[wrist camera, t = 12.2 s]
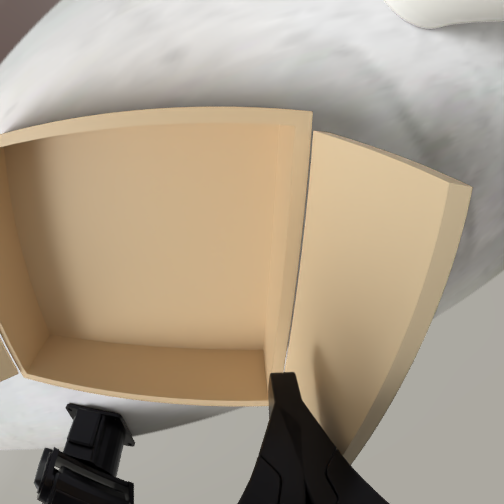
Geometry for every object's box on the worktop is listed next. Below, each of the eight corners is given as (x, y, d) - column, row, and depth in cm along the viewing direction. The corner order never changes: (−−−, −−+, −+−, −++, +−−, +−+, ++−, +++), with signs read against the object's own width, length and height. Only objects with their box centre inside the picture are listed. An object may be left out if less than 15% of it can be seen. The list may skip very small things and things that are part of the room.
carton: (273, 350, 22) (280, 405, 17) (49, 335, 21) (23, 377, 16) (294, 110, 15) (318, 112, 10) (1, 134, 14) (-51, 150, 9)
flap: (279, 403, 17) (287, 402, 17) (297, 518, 10) (308, 517, 10) (313, 130, 10) (326, 131, 10) (449, 182, 3) (472, 186, 4)
